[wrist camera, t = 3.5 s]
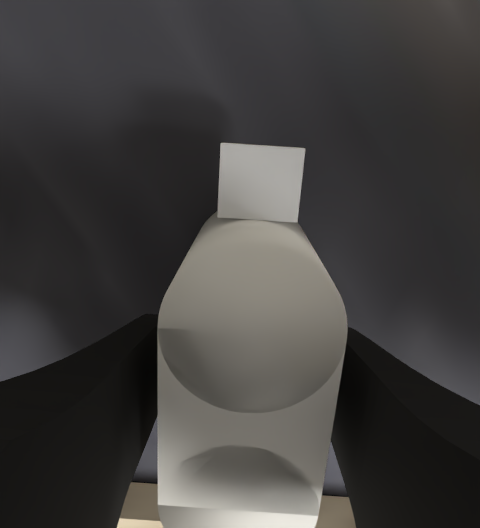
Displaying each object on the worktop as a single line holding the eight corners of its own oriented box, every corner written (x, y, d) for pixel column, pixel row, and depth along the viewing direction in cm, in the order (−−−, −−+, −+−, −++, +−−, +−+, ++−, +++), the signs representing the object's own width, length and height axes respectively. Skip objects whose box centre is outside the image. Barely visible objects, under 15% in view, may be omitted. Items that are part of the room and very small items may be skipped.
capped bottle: (322, 148, 11) (377, 155, 6) (289, 426, 14) (308, 573, 9) (196, 140, 11) (156, 140, 6) (188, 419, 14) (157, 562, 9)
